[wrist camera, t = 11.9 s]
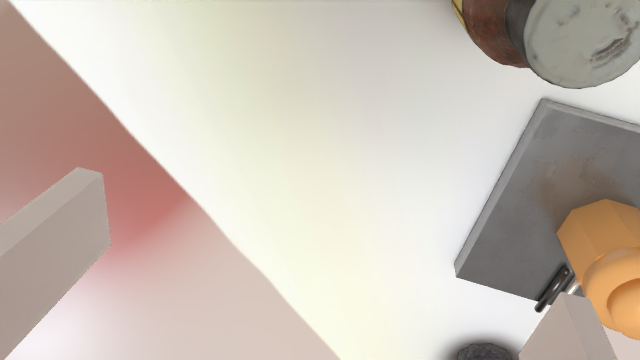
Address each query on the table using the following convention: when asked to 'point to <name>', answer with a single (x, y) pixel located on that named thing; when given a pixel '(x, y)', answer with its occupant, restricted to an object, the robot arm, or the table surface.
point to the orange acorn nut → (607, 261)
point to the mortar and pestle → (483, 353)
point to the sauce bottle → (557, 36)
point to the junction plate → (549, 200)
